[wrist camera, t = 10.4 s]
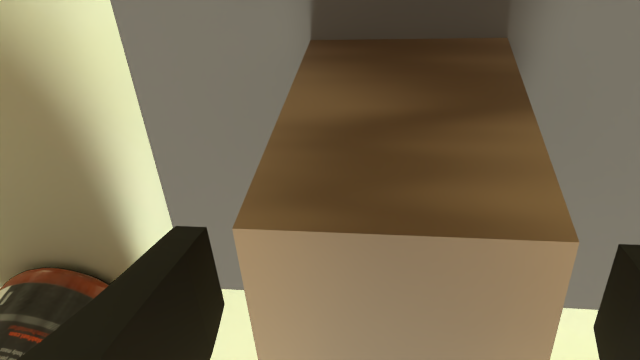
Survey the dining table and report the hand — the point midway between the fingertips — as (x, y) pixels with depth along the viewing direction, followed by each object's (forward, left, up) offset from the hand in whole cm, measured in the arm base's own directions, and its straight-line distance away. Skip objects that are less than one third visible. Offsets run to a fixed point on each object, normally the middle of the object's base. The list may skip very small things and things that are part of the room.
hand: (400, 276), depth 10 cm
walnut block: (0, 0, -5) cm, 5 cm away
